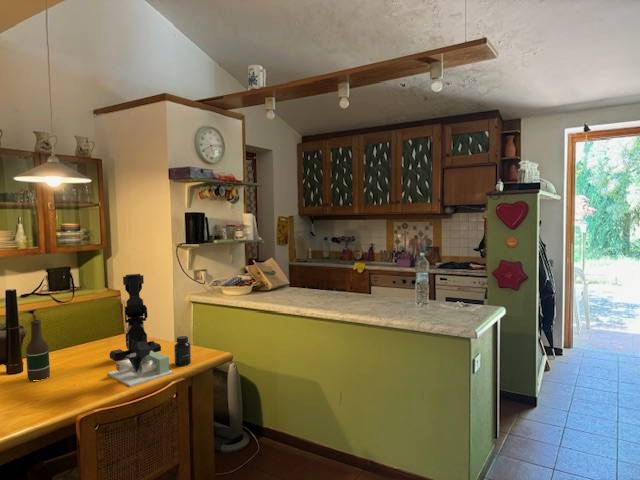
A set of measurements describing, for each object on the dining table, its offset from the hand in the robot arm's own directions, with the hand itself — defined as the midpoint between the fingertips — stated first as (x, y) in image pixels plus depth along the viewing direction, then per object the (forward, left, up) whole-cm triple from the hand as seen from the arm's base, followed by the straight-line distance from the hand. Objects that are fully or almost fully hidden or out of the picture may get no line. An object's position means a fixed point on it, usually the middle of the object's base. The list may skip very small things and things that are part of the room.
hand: (136, 372), depth 176 cm
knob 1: (-9, +3, -1) cm, 9 cm away
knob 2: (0, +8, -1) cm, 8 cm away
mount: (-4, +5, -3) cm, 7 cm away
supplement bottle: (-1, +22, -3) cm, 22 cm away
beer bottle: (-32, -25, -3) cm, 41 cm away
